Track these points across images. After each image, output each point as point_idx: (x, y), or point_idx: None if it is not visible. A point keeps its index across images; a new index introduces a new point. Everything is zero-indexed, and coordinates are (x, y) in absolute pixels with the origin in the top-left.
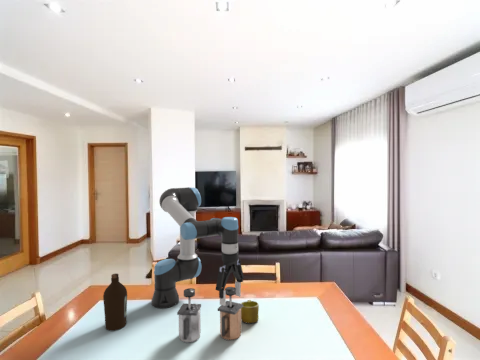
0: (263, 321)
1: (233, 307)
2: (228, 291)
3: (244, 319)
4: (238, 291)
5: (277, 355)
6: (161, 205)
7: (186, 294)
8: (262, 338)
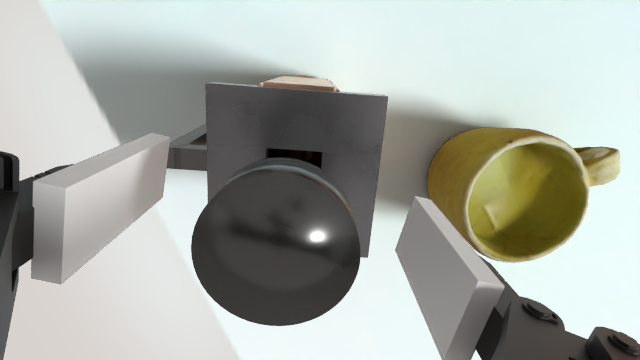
0: None
1: None
2: (193, 258)
3: (434, 167)
4: (411, 263)
5: (239, 356)
6: None
7: None
8: None
